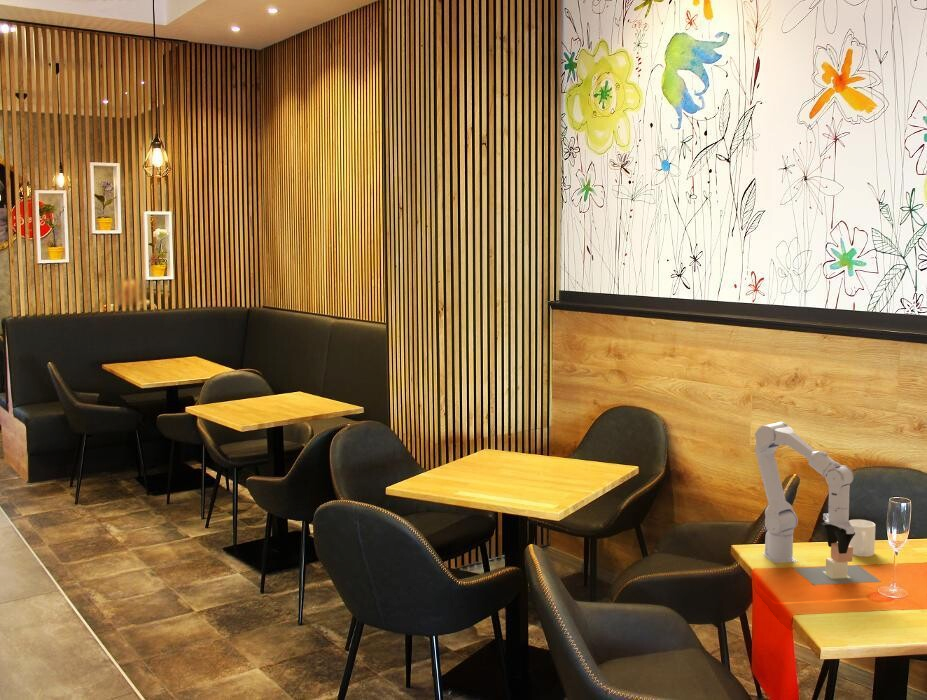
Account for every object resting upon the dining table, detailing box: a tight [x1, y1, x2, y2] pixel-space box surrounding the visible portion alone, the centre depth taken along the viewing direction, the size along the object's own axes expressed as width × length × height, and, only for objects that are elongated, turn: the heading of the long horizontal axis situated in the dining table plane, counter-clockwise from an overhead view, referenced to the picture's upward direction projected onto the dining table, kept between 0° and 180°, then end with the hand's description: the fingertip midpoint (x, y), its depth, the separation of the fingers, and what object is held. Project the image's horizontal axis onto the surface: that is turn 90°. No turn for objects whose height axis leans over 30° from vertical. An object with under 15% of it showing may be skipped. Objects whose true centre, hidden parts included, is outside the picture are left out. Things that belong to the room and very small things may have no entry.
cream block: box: [825, 557, 849, 578], centre depth 283 cm, size 4×4×4 cm
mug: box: [849, 519, 876, 558], centre depth 300 cm, size 12×8×10 cm
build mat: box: [792, 564, 882, 586], centre depth 283 cm, size 14×21×1 cm, turn 95°
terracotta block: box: [830, 542, 854, 563], centre depth 283 cm, size 4×4×4 cm
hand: (837, 549), depth 282 cm, fingers open, 5 cm apart
